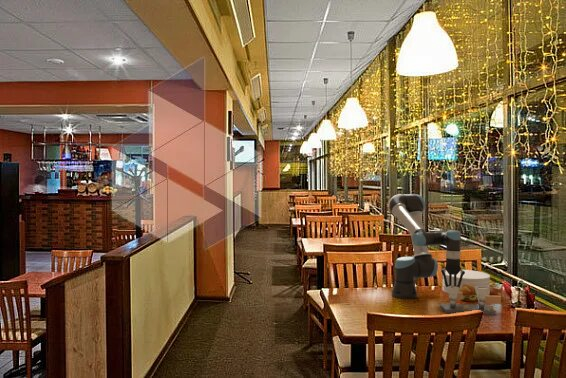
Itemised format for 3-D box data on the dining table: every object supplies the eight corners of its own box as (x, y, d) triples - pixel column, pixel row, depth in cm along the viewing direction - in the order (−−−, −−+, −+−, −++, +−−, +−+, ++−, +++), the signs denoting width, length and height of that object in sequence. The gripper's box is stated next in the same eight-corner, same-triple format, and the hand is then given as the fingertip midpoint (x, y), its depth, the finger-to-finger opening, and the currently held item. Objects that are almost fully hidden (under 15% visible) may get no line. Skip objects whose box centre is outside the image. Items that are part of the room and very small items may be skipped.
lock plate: (445, 313, 246) (445, 302, 246) (439, 306, 258) (439, 296, 258) (495, 314, 244) (495, 303, 244) (487, 308, 256) (487, 297, 256)
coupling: (454, 303, 249) (455, 287, 248) (447, 302, 252) (447, 286, 252) (464, 299, 257) (464, 284, 257) (457, 298, 260) (457, 282, 260)
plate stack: (486, 299, 275) (486, 280, 274) (438, 293, 289) (438, 275, 289) (492, 290, 298) (492, 272, 298) (447, 284, 313) (448, 267, 313)
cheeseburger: (481, 299, 274) (479, 283, 272) (473, 307, 267) (472, 291, 265) (464, 295, 282) (463, 280, 280) (456, 303, 274) (455, 287, 272)
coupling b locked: (478, 303, 248) (478, 287, 248) (475, 301, 253) (475, 286, 253) (501, 304, 247) (502, 288, 247) (498, 302, 252) (498, 286, 251)
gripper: (440, 258, 257) (440, 300, 257) (465, 259, 252) (464, 302, 253) (441, 256, 264) (440, 297, 264) (465, 257, 259) (464, 299, 260)
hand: (452, 299), depth 259 cm, fingers closed
